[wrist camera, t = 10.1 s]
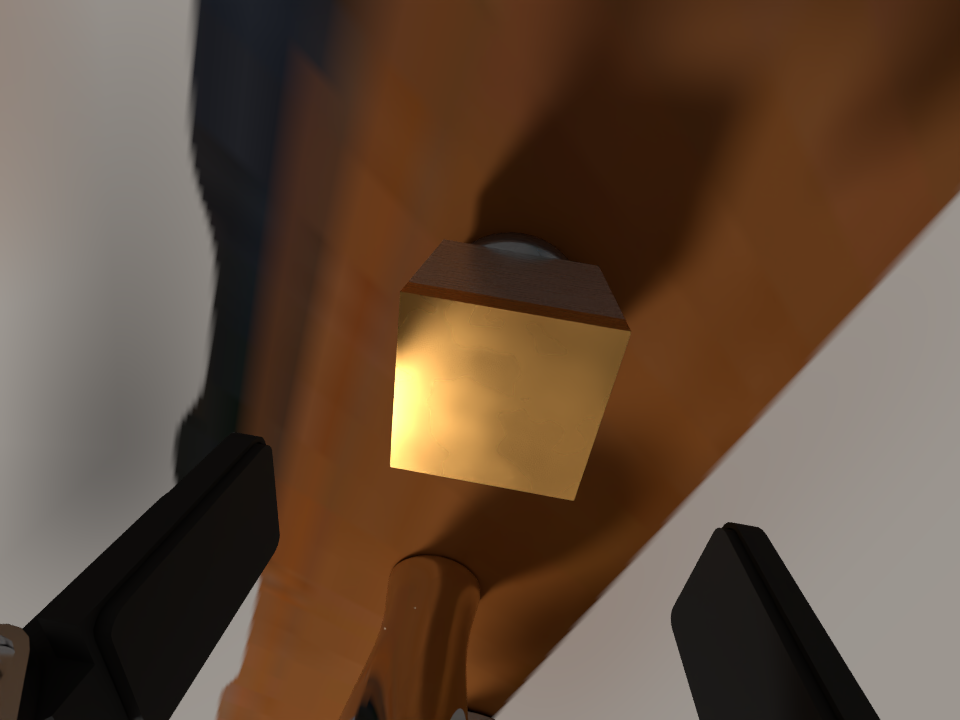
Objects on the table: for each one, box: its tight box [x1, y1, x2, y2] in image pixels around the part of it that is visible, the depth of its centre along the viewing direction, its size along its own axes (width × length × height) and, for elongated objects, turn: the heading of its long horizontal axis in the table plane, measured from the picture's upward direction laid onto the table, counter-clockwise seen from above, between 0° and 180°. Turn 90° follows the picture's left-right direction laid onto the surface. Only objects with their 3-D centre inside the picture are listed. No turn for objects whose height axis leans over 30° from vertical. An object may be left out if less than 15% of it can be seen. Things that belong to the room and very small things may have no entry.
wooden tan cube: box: [390, 240, 631, 501], centre depth 15 cm, size 6×6×6 cm
